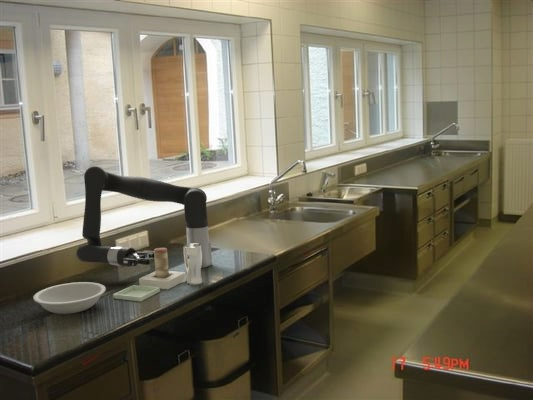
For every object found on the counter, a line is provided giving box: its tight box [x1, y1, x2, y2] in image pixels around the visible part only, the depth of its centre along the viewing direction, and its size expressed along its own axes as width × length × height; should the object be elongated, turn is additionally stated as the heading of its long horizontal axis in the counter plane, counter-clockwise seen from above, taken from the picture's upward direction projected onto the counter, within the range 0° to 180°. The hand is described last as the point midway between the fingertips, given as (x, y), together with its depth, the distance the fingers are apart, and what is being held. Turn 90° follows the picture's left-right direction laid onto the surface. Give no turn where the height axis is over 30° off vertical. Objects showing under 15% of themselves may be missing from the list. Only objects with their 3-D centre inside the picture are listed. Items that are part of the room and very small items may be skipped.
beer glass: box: [183, 243, 203, 286], centre depth 243 cm, size 7×7×15 cm
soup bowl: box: [32, 281, 107, 315], centre depth 218 cm, size 24×24×7 cm
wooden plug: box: [153, 247, 170, 278], centre depth 244 cm, size 5×5×14 cm
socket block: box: [138, 270, 187, 290], centre depth 244 cm, size 13×13×4 cm
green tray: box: [112, 284, 161, 302], centre depth 231 cm, size 12×12×2 cm
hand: (155, 259), depth 244 cm, fingers open, 8 cm apart
